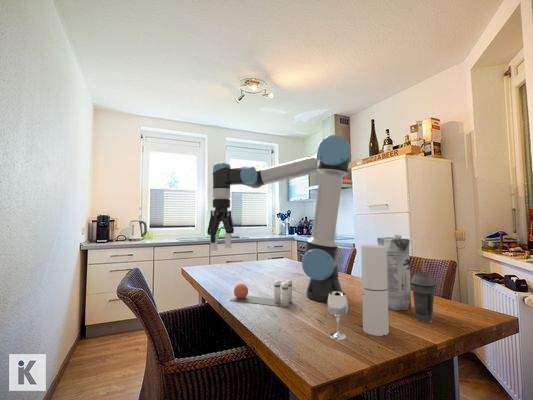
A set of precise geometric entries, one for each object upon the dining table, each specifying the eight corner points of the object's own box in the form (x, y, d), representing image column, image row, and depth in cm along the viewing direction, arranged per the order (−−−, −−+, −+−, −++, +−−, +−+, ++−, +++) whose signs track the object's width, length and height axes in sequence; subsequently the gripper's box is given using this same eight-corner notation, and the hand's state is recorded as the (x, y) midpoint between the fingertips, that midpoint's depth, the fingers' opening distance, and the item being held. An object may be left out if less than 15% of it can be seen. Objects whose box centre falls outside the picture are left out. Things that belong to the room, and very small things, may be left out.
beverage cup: (430, 316, 94) (428, 256, 96) (441, 324, 87) (439, 260, 88) (408, 315, 95) (406, 256, 96) (417, 323, 88) (415, 259, 89)
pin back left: (289, 305, 106) (289, 282, 107) (287, 307, 104) (287, 284, 105) (283, 304, 107) (283, 282, 108) (281, 306, 105) (281, 283, 105)
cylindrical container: (377, 337, 78) (374, 247, 79) (357, 328, 84) (356, 245, 86) (394, 332, 81) (391, 246, 82) (374, 324, 87) (372, 244, 89)
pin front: (281, 302, 110) (281, 280, 111) (279, 304, 108) (279, 281, 108) (275, 301, 111) (275, 280, 111) (273, 303, 109) (273, 281, 109)
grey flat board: (292, 301, 111) (292, 300, 111) (286, 307, 104) (286, 306, 104) (238, 295, 120) (238, 294, 120) (230, 300, 112) (230, 300, 112)
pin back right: (292, 301, 111) (292, 280, 112) (291, 303, 109) (291, 281, 109) (286, 300, 112) (286, 279, 112) (285, 302, 110) (284, 280, 110)
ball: (250, 297, 117) (250, 282, 117) (244, 301, 111) (244, 286, 112) (237, 295, 119) (237, 281, 119) (231, 299, 113) (231, 285, 114)
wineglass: (325, 332, 81) (324, 291, 82) (344, 331, 82) (343, 290, 82) (331, 341, 76) (330, 296, 76) (351, 340, 76) (351, 296, 77)
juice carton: (394, 312, 98) (391, 235, 100) (376, 303, 108) (374, 234, 110) (415, 310, 100) (413, 235, 102) (395, 301, 110) (393, 233, 112)
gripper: (227, 200, 133) (227, 246, 132) (198, 197, 111) (197, 252, 110) (241, 200, 131) (241, 246, 129) (214, 196, 109) (214, 253, 107)
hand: (221, 249), depth 120 cm, fingers open, 11 cm apart
